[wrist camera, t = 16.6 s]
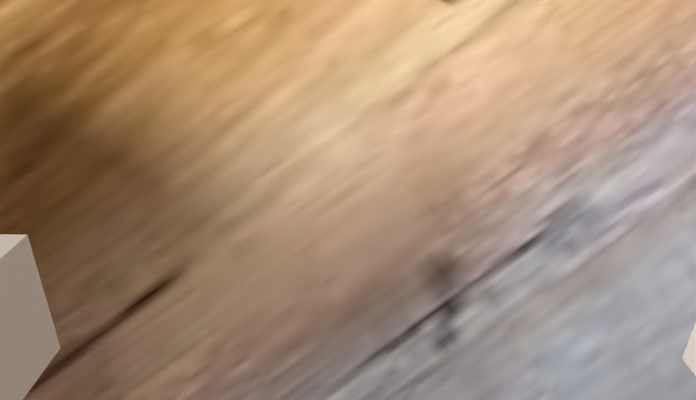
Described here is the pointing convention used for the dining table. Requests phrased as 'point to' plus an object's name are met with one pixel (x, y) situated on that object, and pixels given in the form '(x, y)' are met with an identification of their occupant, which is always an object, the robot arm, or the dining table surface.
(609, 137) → the dining table surface
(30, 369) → the robot arm
